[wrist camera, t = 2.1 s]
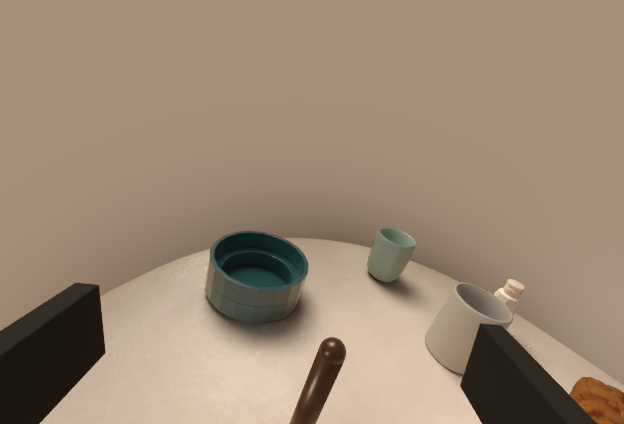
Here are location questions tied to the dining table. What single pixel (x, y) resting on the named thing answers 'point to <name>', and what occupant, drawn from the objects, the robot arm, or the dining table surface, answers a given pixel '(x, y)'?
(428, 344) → the mug
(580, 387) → the cuneiform tablet
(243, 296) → the bowl
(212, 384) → the dining table surface
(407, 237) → the cup
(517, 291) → the pepper shaker
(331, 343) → the wooden peg stand
